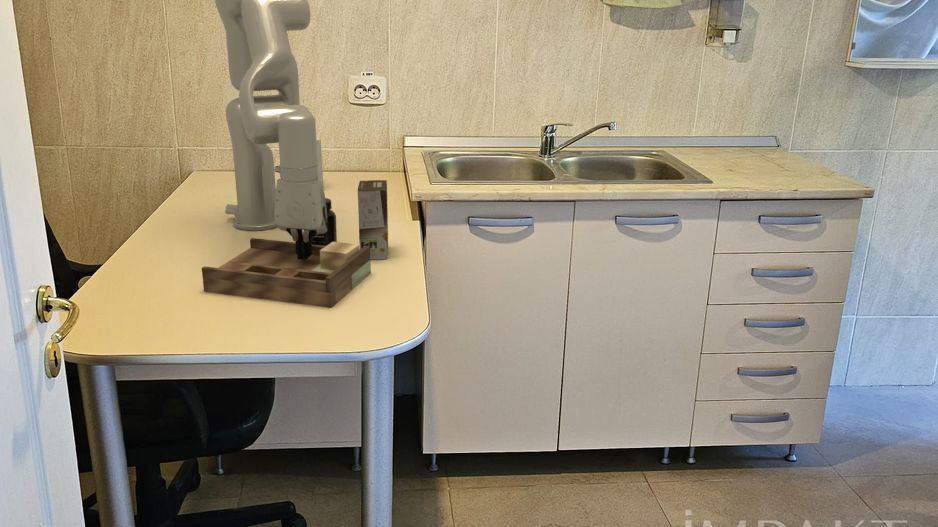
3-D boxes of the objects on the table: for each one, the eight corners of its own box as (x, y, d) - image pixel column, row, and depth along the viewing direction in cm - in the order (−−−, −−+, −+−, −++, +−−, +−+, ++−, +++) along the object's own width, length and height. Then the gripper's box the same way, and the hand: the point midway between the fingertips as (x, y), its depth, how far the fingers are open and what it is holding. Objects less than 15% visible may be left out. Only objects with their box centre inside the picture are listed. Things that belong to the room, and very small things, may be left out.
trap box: (203, 291, 175) (201, 263, 173) (253, 259, 193) (251, 233, 191) (331, 307, 168) (330, 278, 166) (370, 272, 186) (369, 246, 184)
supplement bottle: (312, 257, 195) (309, 205, 191) (303, 248, 200) (300, 198, 196) (341, 252, 198) (339, 202, 194) (331, 244, 203) (329, 194, 199)
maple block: (320, 268, 179) (319, 250, 178) (334, 259, 185) (333, 241, 183) (346, 272, 178) (346, 253, 176) (359, 262, 183) (358, 244, 182)
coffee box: (388, 259, 194) (386, 190, 188) (359, 260, 193) (357, 190, 188) (388, 246, 202) (387, 179, 197) (361, 246, 202) (358, 179, 196)
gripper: (257, 174, 176) (263, 260, 182) (325, 180, 172) (329, 267, 178) (274, 166, 182) (280, 248, 189) (340, 171, 179) (344, 255, 185)
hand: (304, 257), depth 184 cm, fingers closed
